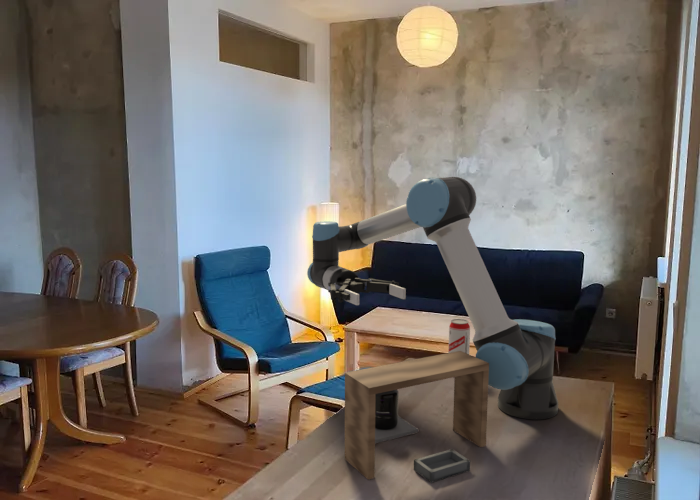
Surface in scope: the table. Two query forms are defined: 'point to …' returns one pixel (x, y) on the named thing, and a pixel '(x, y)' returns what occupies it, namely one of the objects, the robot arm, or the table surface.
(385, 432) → the coaster
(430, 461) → the trap tray
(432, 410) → the table surface
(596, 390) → the table surface
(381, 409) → the supplement bottle
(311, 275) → the robot arm
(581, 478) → the table surface
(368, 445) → the bridge
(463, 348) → the beer can
